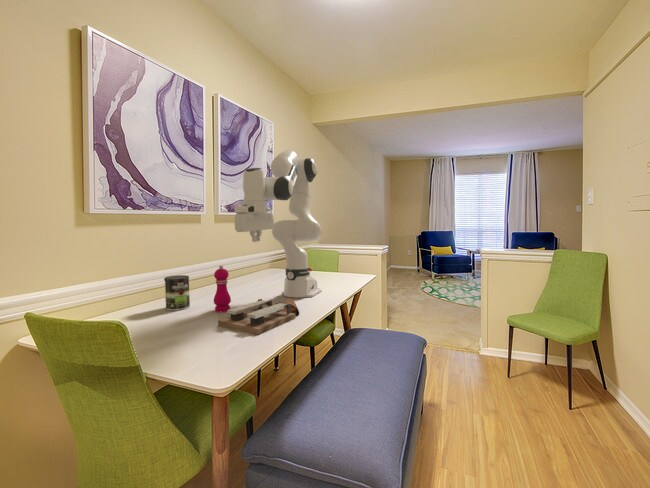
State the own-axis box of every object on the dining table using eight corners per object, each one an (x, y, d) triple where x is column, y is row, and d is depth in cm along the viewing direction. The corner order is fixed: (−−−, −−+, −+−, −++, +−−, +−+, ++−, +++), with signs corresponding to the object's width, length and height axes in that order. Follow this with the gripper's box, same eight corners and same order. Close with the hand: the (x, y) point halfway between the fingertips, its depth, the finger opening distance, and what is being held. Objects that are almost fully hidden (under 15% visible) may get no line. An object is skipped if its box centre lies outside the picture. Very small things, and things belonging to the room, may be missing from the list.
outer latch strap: (279, 305, 140) (279, 303, 140) (287, 307, 138) (287, 304, 138) (247, 317, 124) (247, 313, 124) (255, 318, 122) (255, 315, 122)
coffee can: (193, 307, 155) (192, 277, 154) (169, 312, 148) (168, 280, 147) (185, 303, 163) (184, 274, 161) (162, 307, 156) (161, 277, 155)
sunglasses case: (275, 305, 157) (282, 293, 157) (288, 312, 159) (295, 300, 159) (279, 317, 140) (287, 302, 140) (294, 324, 141) (301, 310, 142)
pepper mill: (226, 312, 146) (224, 266, 145) (210, 312, 148) (209, 266, 146) (234, 308, 153) (232, 264, 152) (219, 307, 155) (217, 263, 153)
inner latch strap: (261, 302, 145) (261, 300, 145) (268, 304, 143) (268, 301, 143) (227, 313, 129) (227, 310, 129) (235, 314, 127) (235, 311, 127)
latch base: (257, 311, 148) (257, 298, 148) (295, 318, 138) (295, 304, 137) (218, 325, 129) (217, 310, 129) (258, 334, 119) (258, 318, 119)
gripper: (265, 207, 150) (266, 238, 152) (231, 208, 133) (232, 243, 134) (276, 207, 147) (277, 239, 149) (243, 208, 130) (244, 244, 131)
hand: (256, 241), depth 141 cm, fingers closed
